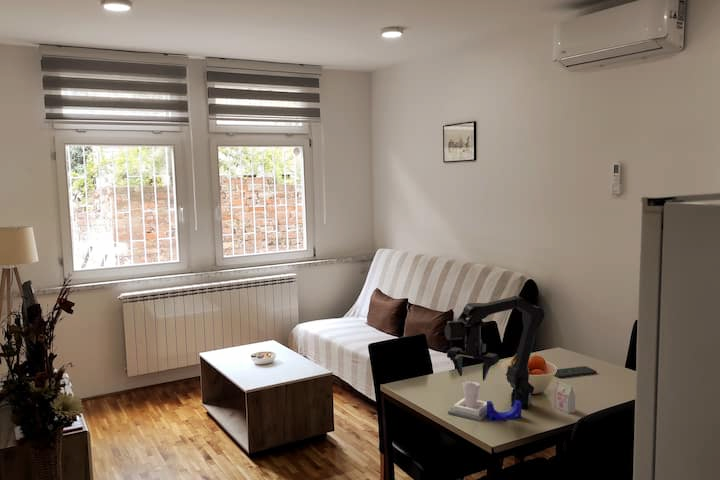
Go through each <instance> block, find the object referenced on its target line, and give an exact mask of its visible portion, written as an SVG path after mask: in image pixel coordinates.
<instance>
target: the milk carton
mask: <svg viewBox="0 0 720 480" xmlns="http://www.w3.org/2000/svg"><path fill="white" fill-rule="evenodd" d="M553 406H554V407H553V408H555V409H556V410H559V411H560V412H561V411H562V412H564V413H565V414H573V413H575V412H576V395H575V392H574V388H573V386H571V385H570V384H567V383H564V382H561V381H557V384H556V387H555V390H554V405H553Z"/></svg>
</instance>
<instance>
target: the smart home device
mask: <svg viewBox="0 0 720 480" xmlns="http://www.w3.org/2000/svg"><path fill="white" fill-rule="evenodd" d="M556 370H557V372H556V374H555V376H554V377H555V378H557V379H566V378H574V377H573V376H575V377H581V376H580V375H584V376H589V375H588V374H592V375H596V374H595V373H598V372H597V370H596V369H593V368H591V367H589V366H585V365H583V366H575V367H568V368H567V367H566V368H557V369H556Z"/></svg>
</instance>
